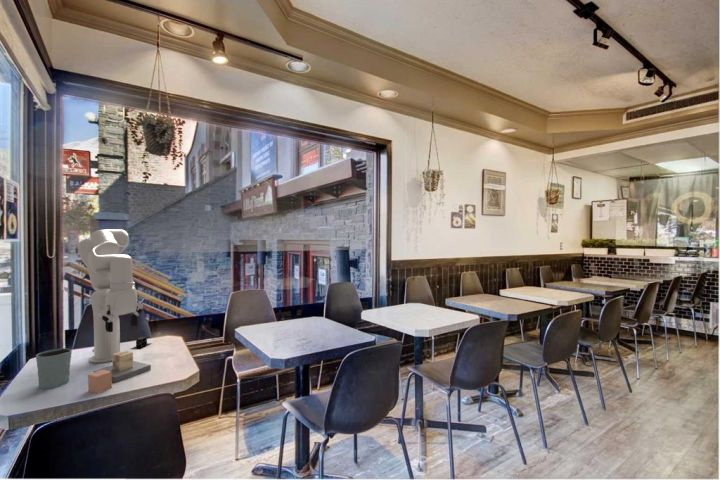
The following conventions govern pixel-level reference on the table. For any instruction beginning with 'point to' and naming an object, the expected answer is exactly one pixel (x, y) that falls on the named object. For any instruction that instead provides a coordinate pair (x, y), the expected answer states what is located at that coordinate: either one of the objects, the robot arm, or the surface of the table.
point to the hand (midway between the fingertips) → (122, 328)
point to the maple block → (122, 360)
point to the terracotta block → (99, 381)
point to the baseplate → (127, 371)
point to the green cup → (53, 367)
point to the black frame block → (141, 343)
